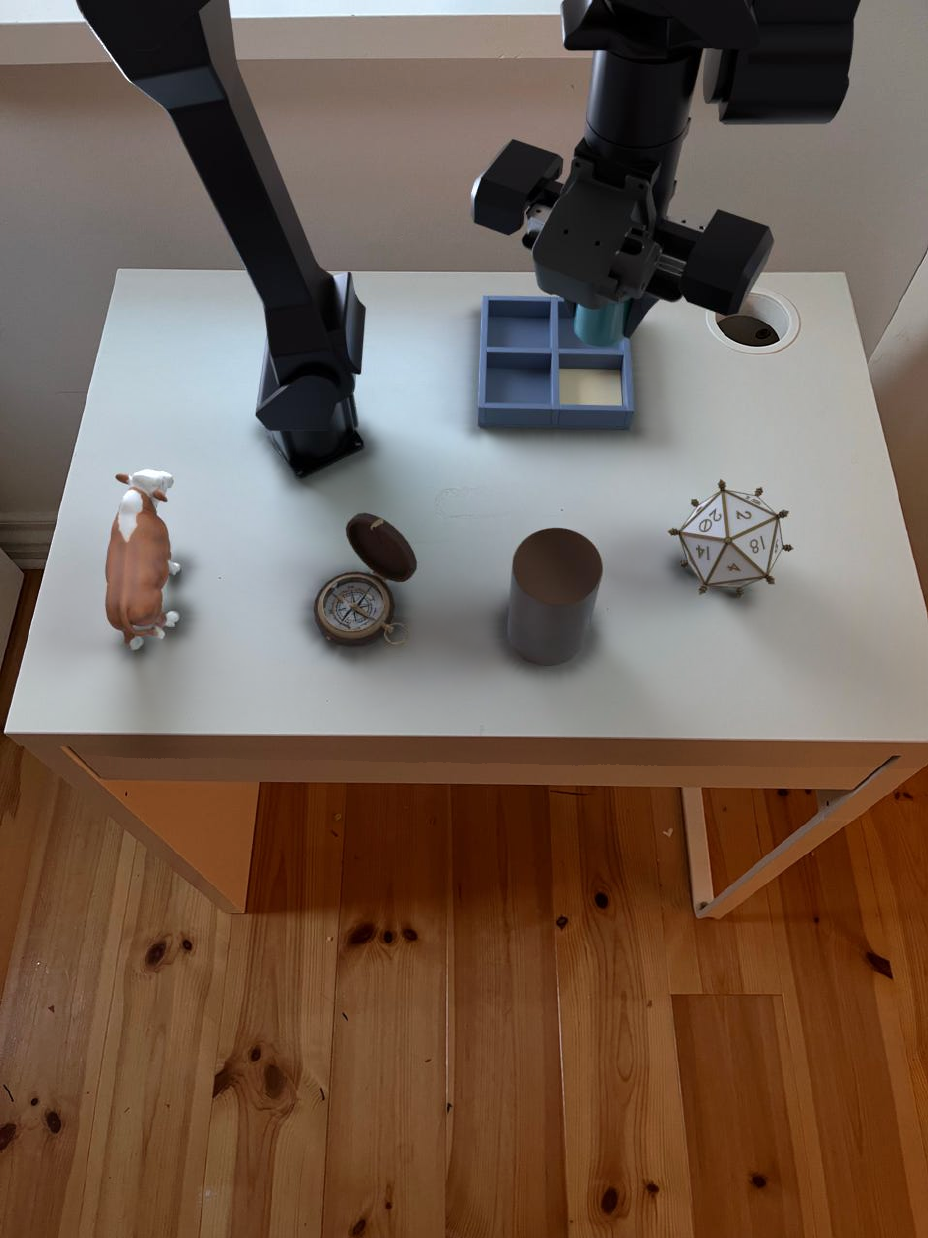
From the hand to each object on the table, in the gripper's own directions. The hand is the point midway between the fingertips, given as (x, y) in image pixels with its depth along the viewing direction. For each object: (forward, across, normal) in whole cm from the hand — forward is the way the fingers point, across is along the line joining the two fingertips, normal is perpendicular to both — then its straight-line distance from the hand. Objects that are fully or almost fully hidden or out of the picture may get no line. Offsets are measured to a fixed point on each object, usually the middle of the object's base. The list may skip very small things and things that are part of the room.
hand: (601, 323), depth 64 cm
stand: (+13, +6, -18) cm, 23 cm away
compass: (+13, -7, -23) cm, 27 cm away
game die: (+13, +15, -6) cm, 21 cm away
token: (0, 0, 0) cm, 0 cm away
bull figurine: (+13, -23, -29) cm, 39 cm away
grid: (+13, -6, +6) cm, 15 cm away
